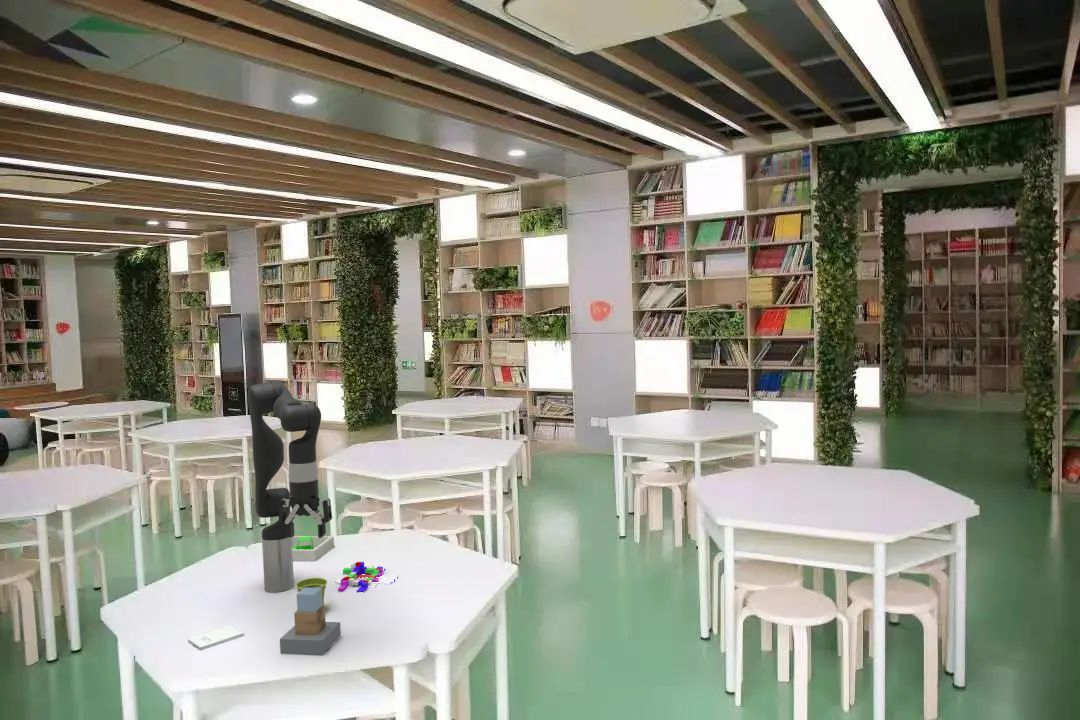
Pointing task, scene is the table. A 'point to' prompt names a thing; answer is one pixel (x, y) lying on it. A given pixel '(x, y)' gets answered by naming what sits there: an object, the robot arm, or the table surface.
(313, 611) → the blue cube
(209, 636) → the external hard drive
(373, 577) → the building block set
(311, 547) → the toy car
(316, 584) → the plant pot
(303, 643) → the base plinth
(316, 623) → the walnut cube
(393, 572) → the table surface
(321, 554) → the corral
